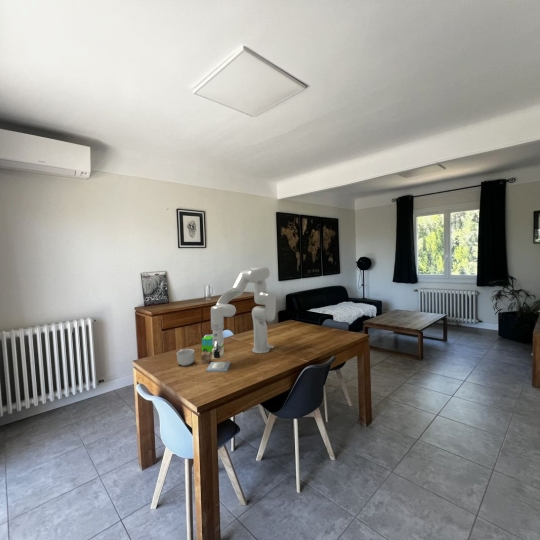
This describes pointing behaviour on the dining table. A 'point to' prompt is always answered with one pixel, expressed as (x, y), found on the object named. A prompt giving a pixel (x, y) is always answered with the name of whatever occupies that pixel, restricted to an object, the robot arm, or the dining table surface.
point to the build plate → (218, 366)
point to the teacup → (185, 357)
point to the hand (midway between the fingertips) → (218, 355)
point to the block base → (220, 353)
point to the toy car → (208, 344)
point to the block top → (205, 357)
